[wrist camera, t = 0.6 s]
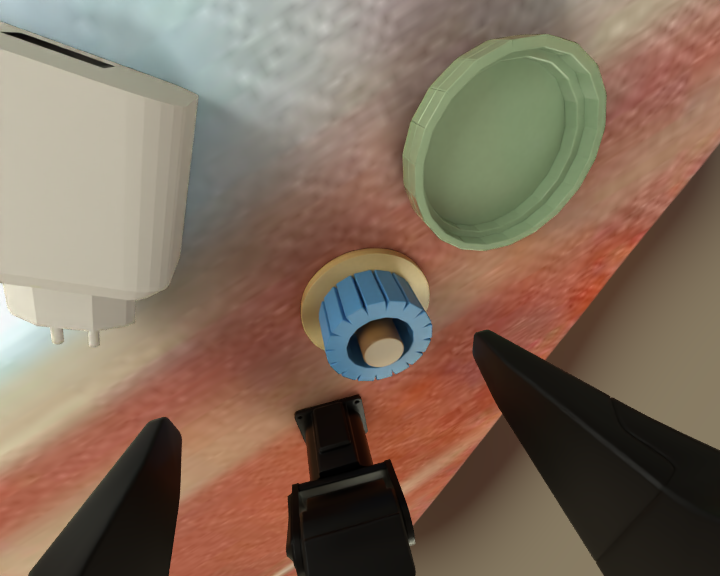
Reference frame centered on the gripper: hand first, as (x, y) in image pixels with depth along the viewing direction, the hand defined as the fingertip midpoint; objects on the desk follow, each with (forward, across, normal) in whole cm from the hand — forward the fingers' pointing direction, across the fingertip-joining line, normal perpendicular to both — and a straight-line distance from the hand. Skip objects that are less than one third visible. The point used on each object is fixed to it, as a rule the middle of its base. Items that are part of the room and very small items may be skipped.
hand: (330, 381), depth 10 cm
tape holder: (+14, -3, +9) cm, 17 cm away
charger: (+14, +11, -2) cm, 17 cm away
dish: (+13, -12, -1) cm, 18 cm away
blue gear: (+13, -3, +9) cm, 16 cm away
